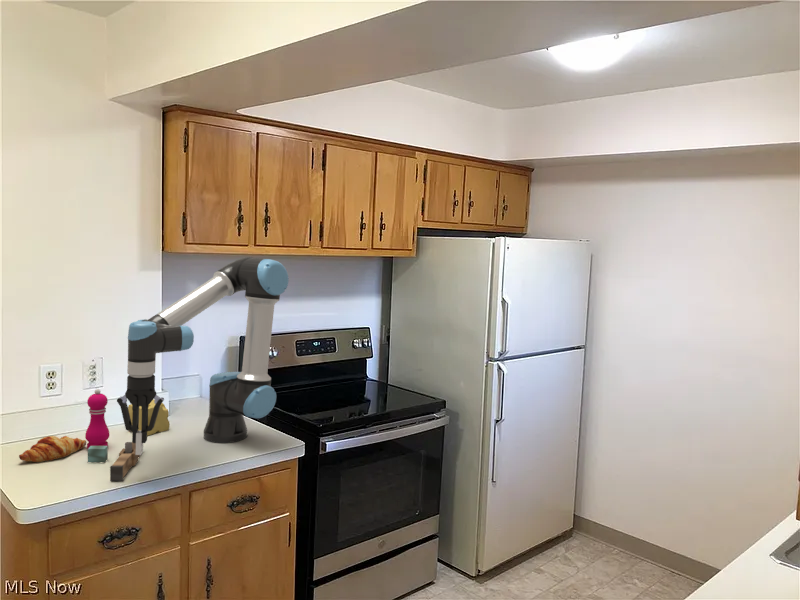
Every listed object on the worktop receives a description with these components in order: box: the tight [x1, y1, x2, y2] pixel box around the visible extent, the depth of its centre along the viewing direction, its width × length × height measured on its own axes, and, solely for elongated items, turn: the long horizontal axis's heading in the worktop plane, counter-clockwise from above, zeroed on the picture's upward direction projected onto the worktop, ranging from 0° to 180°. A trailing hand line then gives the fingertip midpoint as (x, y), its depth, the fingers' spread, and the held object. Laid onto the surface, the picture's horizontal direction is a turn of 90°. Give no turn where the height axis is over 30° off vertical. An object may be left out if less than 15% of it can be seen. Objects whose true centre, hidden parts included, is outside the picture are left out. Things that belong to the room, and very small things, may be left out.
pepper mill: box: [84, 388, 110, 451], centre depth 212 cm, size 7×7×20 cm
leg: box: [109, 447, 139, 482], centre depth 195 cm, size 16×5×4 cm, turn 8°
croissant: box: [18, 435, 87, 463], centre depth 205 cm, size 21×10×8 cm, turn 149°
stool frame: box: [87, 441, 141, 463], centre depth 204 cm, size 14×13×7 cm
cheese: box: [127, 399, 171, 437], centre depth 233 cm, size 10×11×10 cm
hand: (139, 453), depth 190 cm, fingers closed
